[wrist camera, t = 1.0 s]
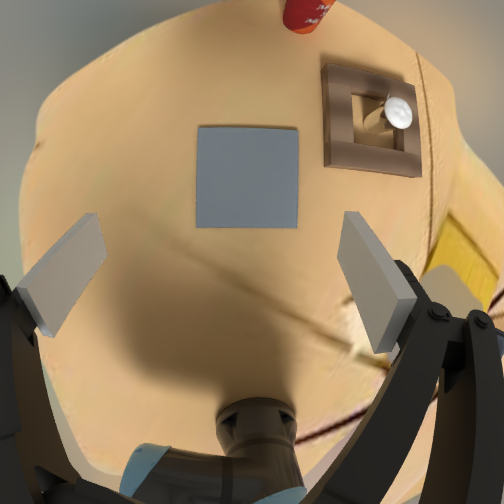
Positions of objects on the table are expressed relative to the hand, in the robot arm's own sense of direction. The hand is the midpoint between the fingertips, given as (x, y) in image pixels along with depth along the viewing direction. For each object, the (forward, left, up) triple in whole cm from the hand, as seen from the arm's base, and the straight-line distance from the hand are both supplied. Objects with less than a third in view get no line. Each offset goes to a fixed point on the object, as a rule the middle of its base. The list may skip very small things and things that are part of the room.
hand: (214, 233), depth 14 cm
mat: (+5, -3, -25) cm, 26 cm away
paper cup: (+33, -11, -25) cm, 43 cm away
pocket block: (+15, -22, -25) cm, 37 cm away
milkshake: (+15, -22, -25) cm, 37 cm away
